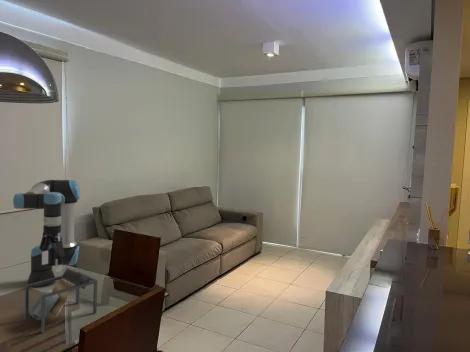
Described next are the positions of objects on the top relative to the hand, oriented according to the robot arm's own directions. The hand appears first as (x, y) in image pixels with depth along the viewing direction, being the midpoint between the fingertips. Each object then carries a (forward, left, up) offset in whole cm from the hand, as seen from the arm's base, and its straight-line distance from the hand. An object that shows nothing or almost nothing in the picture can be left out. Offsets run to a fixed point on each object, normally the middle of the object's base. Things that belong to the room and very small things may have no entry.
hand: (51, 267), depth 171 cm
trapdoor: (0, +10, -17) cm, 19 cm away
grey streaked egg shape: (0, 0, -20) cm, 20 cm away
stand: (0, +5, -26) cm, 27 cm away
